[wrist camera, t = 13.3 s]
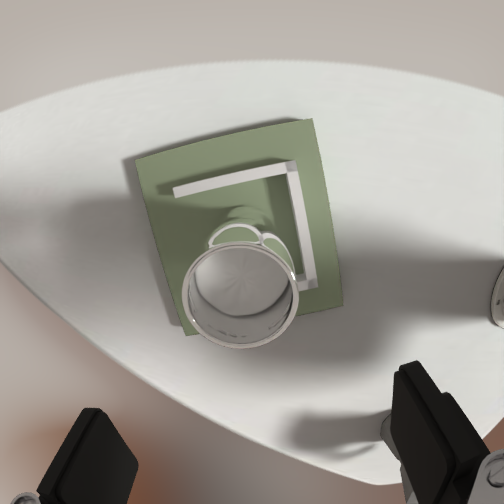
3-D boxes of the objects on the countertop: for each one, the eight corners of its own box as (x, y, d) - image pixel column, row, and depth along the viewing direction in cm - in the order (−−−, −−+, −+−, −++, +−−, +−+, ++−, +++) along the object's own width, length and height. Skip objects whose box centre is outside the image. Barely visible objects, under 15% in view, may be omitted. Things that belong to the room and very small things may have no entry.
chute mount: (308, 120, 31) (316, 115, 27) (339, 298, 36) (348, 313, 32) (141, 159, 32) (127, 160, 28) (188, 327, 37) (182, 345, 33)
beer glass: (196, 232, 32) (153, 292, 17) (248, 186, 31) (246, 210, 16) (241, 282, 33) (235, 370, 19) (294, 239, 32) (327, 305, 18)
